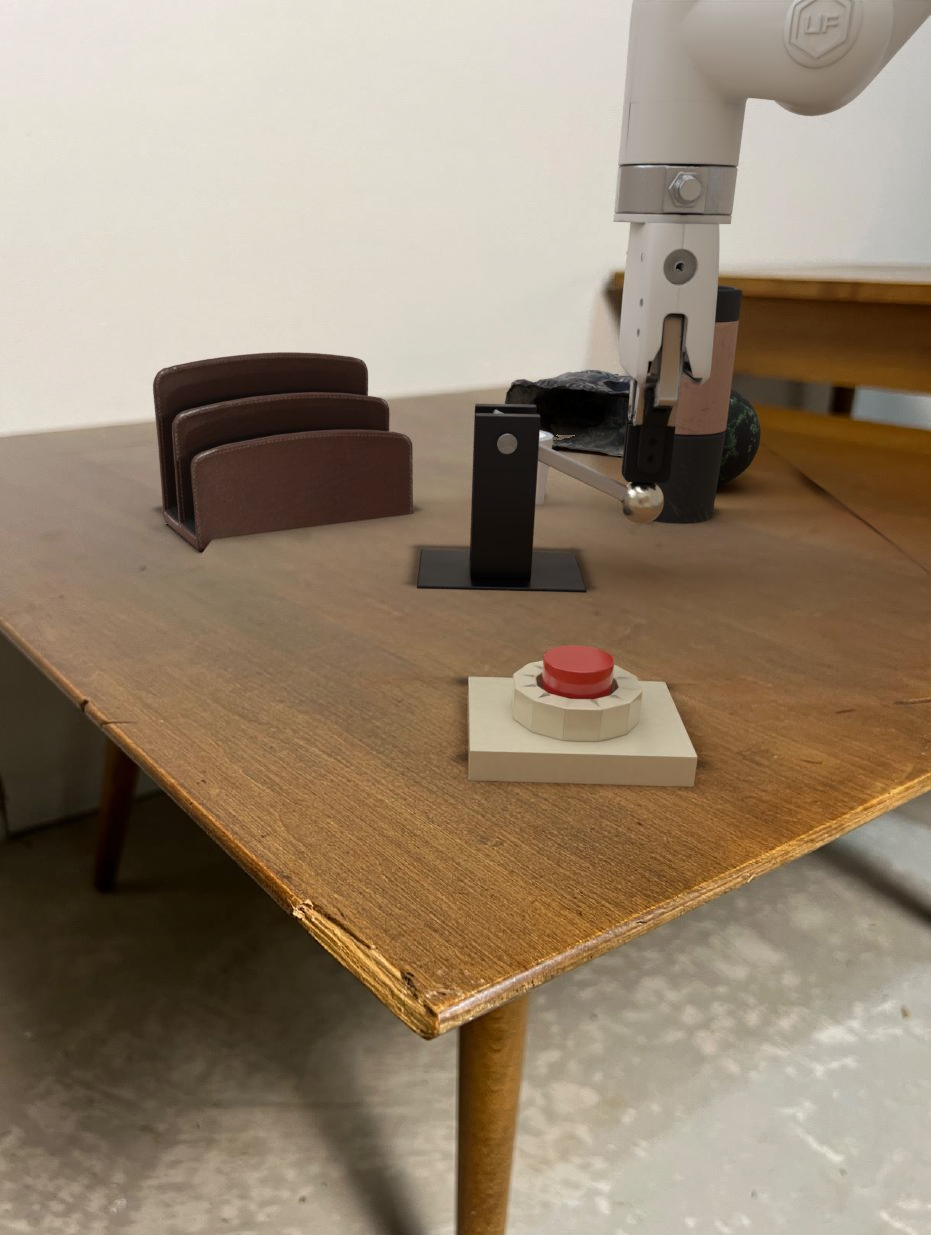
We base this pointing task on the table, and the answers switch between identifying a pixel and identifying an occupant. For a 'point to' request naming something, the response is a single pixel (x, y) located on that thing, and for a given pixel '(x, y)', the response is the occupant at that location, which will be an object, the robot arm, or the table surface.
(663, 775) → the button block
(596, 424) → the sculpture
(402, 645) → the table surface
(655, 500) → the lever
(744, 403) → the decorative stone
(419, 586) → the bracket
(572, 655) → the button
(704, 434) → the travel mug
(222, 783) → the table surface
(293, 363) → the letter holder
